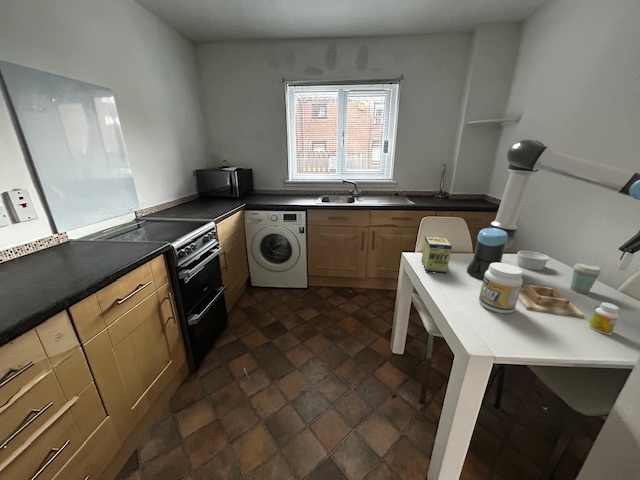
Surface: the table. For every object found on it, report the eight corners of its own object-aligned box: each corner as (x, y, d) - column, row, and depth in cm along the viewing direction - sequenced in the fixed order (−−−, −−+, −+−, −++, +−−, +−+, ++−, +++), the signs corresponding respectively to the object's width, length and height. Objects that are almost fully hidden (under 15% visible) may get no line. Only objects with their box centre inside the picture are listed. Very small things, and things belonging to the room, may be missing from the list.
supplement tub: (471, 301, 104) (479, 264, 99) (490, 295, 109) (499, 259, 104) (501, 317, 94) (512, 277, 88) (521, 310, 98) (533, 271, 93)
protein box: (425, 272, 130) (429, 244, 126) (420, 261, 145) (424, 235, 140) (447, 274, 128) (452, 246, 123) (440, 262, 143) (444, 236, 138)
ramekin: (514, 260, 148) (517, 248, 146) (543, 265, 140) (547, 253, 138) (515, 267, 138) (518, 255, 135) (546, 273, 130) (550, 261, 128)
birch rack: (526, 309, 99) (529, 298, 98) (510, 289, 114) (512, 280, 112) (582, 317, 94) (587, 306, 93) (558, 296, 109) (561, 286, 107)
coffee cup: (598, 296, 109) (608, 271, 105) (575, 294, 111) (584, 269, 107) (582, 286, 117) (591, 263, 113) (561, 285, 119) (569, 261, 115)
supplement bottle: (584, 325, 90) (593, 301, 87) (598, 324, 90) (607, 300, 87) (601, 335, 85) (612, 310, 82) (615, 334, 85) (627, 309, 82)
